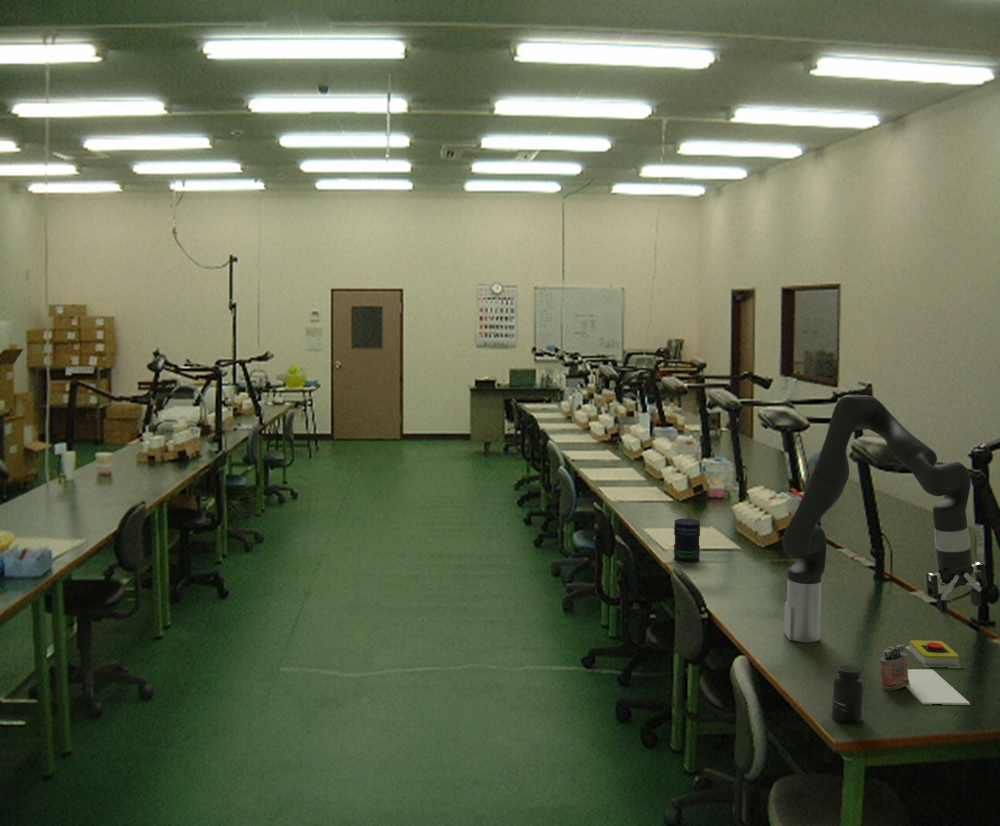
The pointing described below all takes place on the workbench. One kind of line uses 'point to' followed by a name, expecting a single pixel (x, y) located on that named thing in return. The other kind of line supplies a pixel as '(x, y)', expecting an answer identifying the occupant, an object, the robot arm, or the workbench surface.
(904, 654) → the lighter
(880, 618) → the workbench surface
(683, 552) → the storage jar
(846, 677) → the supplement bottle
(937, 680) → the mat
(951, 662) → the emergency button
